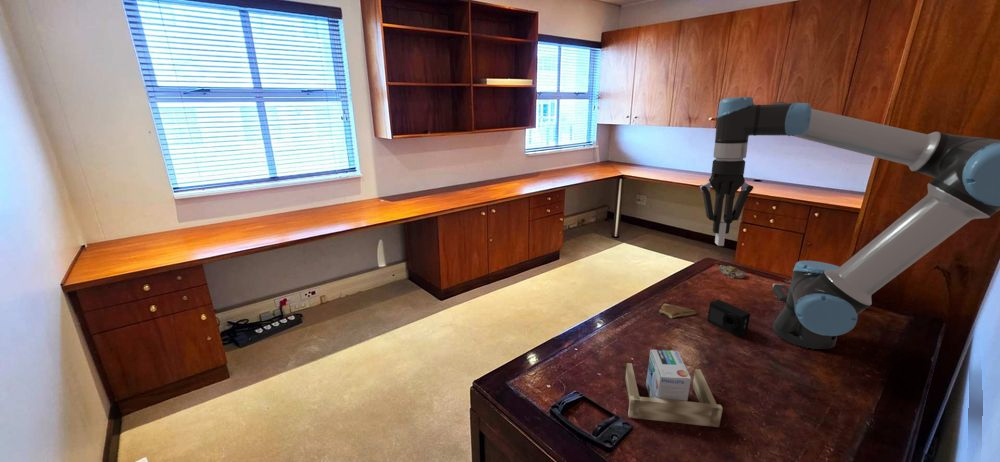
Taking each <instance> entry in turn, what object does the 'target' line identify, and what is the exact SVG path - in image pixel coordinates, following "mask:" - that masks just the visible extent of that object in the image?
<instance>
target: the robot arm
mask: <svg viewBox="0 0 1000 462" xmlns="http://www.w3.org/2000/svg"><path fill="white" fill-rule="evenodd" d="M754 103H755V102H754V98H753V97H752V96H743V97H726V98H723V99H721V100H720V102H719V105H718V110H717V116H716V127H715V136H714V137H715V138H714V139H715V140H714V149H713V158H714V160H713V161H712V165H711V167H712V168H711V174H710V178H709V179H708V181H707V182H706V183H704V184H700V185H699V186H698V187H699V190H700V191H701V193H702V198H703V205H704V210H705V215H706V218H707V219H708V220H709V221H712V222H713V223H712V233H714V234H715V237H714V243H715V244H716V245H717V246H718V247H724V246H725V239H726V238H725V237H726V234H729V233H730V228H731V224H732V223H733V222H734V221H738V220H739V219H740V216H741V213H742V211H743V209H744V207H745V204H746V202H747V199H748V197H749V194H750V193H751V192H752V191H753V190H754V186H753V185H751V184H750V183H749V184H748V183H747V182H746V179H745V177H744V176H745V168H746V160H745V158H747V152H748V143H749V137H750V136H753V137H754V136H787V137H791V136H792V137H795V138H799V139H803V140H807V141H811V142H814V143H819V144H823V145H826V146H830V147H835V148H838V149H842V150H847V151H850V152H853V153H854V152H855V153H858V154H863V155H865V156H866V155H867V156H870V157H874V158H877V159H878V158H879V159H881V160H887V161H889V162H894V163H897V164H900V165H906V166H908V167H909V170H910V171H911V172H914V173H919V174H923V175H926V176H929V177H931V178H933V179H931V181H930V182H928V183H927V194H926V195H925V196H924V197H923V198H921V199H920V200H919V201H918V202H917V203H915V204H914V205H913V206H911V208H909V209H908V210H907V211H905V213H903V214H902V215H901V216H900V217H899V218H897V219H896V220H895V221H894V222H893V223H891V224H890V225H889V226H887V228H885V230H883V231H882V232H881V233H879V234H878V235H877V236H876V237H874V238H873V239H872V240H871V241H870V242H868V243H867V244H866V245H864V247H862V248H861V249H860V250H859V251H858V252H856V253H855V254H854V255H853V256H851V258H849V259H848V260H847V261H845V262H844V263H843V264H842V265H841V266H839V265H836V264H832V263H828V262H827V263H826V262H822V261H817V260H816V261H815V260H799V261H797V262H796V263H795V265H794V268H793V269H792V277H791V280H790V284H789V287H788V288H789V292H788V297H787V301H786V303H785V305H784V307H783V309H782V310H781V311H780V313H778V316H777V317H776V318H775V319H774V322H773V327H772V330H773V329H774V330H773V332H774V331H775V332H774V333H775V334H776V335H777V336H778V337H779V336H780V337H779V338H781V339H782V338H783V339H782V340H784V341H786V342H787V343H790V344H792V345H794V346H797V345H798V347H800V346H801V348H804V347H805V348H804V349H808V348H811V349H810V350H814V349H828V350H830V349H829V348H831V349H833V348H835V346H836V344H837V341H838V340H837V339H838V336H841V335H845V334H847V333H849V332H850V331H852V330H853V329H855V327H856V325H857V322H858V319H859V318H858V315H859V314H860V313H862V312H863V311H864V310H866V309H867V308H869V307H870V306H871V305H872V304H873V303H872V297H873V296H872V295H874V293H876V292H877V291H878V290H881V288H883V287H884V286H886V284H888V283H890V281H892V280H893V279H895V278H896V277H898V275H900V274H901V273H903V272H904V271H905V270H906V269H908V268H909V267H911V266H912V265H913V264H915V263H916V262H917V261H919V260H920V259H921V258H923V257H924V256H925V255H927V254H928V253H929V252H930V251H932V250H933V249H935V248H936V247H937V246H939V245H940V244H941V243H943V242H944V241H945V240H947V238H949V237H950V236H952V235H954V234H955V233H956V232H957V231H959V230H960V229H961V228H963V226H965V225H966V224H968V223H969V222H970V221H972V220H975V219H976V220H978V219H979V220H980V219H989V218H990V217H992V216H994V215H995V214H997V212H999V211H1000V139H998V138H997V139H996V138H991V137H978V136H968V135H966V136H965V135H957V134H951V133H946V132H945V133H944V132H942V131H941V132H939V131H933V132H931V133H928V134H927V133H922V132H919V131H918V132H917V131H913V130H909V129H905V128H900V127H896V126H895V127H894V126H890V125H886V124H882V123H878V122H872V121H868V120H865V119H859V118H855V117H850V116H846V115H841V114H837V113H836V114H835V113H832V112H829V111H822V110H817V109H814V108H812V105H811V104H810V103H809V102H789V103H788V102H784V101H775V102H773V103H771V104H770V103H769V104H757V103H756V104H754ZM711 190H714V192H715V201H714V208H713V203H712V197H711V193H710V192H711ZM738 190H740V192H739V194H738V196H737V199H736V201H734V199H735V198H736V193H737V192H738ZM724 200H725V201H724ZM734 202H735V203H734ZM723 205H724V206H723ZM723 207H724V209H723ZM723 210H724V212H723ZM722 214H723V220H722ZM832 347H833V348H832Z"/></svg>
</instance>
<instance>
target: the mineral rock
mask: <svg viewBox="0 0 1000 462" xmlns="http://www.w3.org/2000/svg"><path fill="white" fill-rule="evenodd" d="M719 265H720V266H719V267H718V271H719V272H720V273H721V274H724V276H725V277H728V278H731V279H739V278H740V279H743V278H745V277H746V274H745V271H743V270H741V269H739V268H736V267H735V266H734V267H733V266H731V265H727V266H726V265H723V264H719Z"/></svg>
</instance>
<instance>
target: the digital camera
mask: <svg viewBox="0 0 1000 462" xmlns="http://www.w3.org/2000/svg"><path fill="white" fill-rule="evenodd" d="M708 307H709V308H708V314H707V319H706V322H707V323H709V324H711V325H713V326H715V327H718V328H719V329H721V330H723V331H725V332H727V333H729V334H731V335H733V336H735V337H737V338H740V337H741V336H744V335H745V333H746V334H747V332H748V326H749V322H750V318H751V313H750V312H747V311H745V310H744V309H741V308H739V307H737V306H735V305H732V304H730V303H727V302H726V301H723V300H721V299H715V300H713V301H710V303H709V306H708ZM743 334H744V335H743Z"/></svg>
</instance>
